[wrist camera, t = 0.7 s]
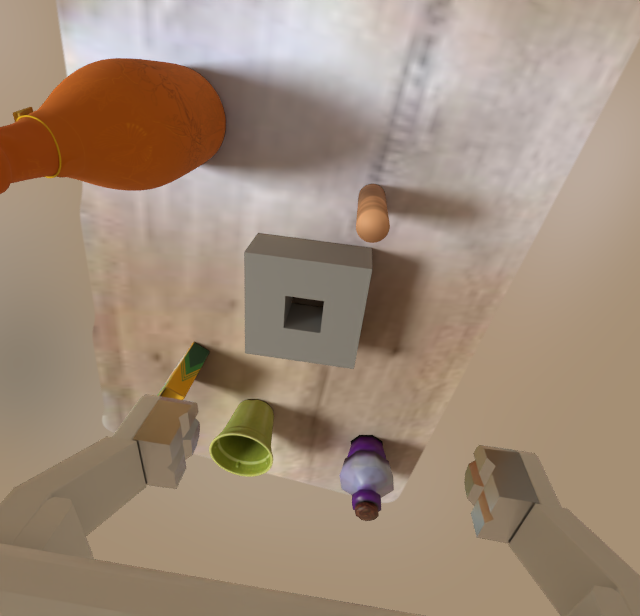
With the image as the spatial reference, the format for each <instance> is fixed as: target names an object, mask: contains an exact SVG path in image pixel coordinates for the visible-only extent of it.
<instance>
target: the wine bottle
mask: <svg viewBox="0 0 640 616" xmlns="http://www.w3.org/2000/svg"><path fill="white" fill-rule="evenodd" d="M13 116H14V120H15V123H13V124H10V125H7V126H3V127H0V194H1V193H3V192H5V191H6V190H7V189H8V188H9V185H10V183H14V182H19V181H23V180H28V179H33V178H38V177H47V178H54V177H56V176H57V177H69V178H73V179H77V180H81V181H84V182H87V183H91V184H94V185H98V186H102V187H106V188H112V189H119V190H147V189H153V188H157V187H160V186H163V185H165V184H168V183H170V182H172V181H174V180H176V179H178V178H180V177H182V176H183V175H185V174H187V173H189V172H190V171H192V170H194V169H196V168H197V167H199V166H200V165H202V164H203V163H205V162H206V161H208V160H209V159H210V158H211V157H213V156H214V155H215V154H216V152H217V151H218V150H219V148H220V146H221V144H222V142H223V139H224V135H225V129H226V120H225V113H224V109H223V106H222V103H221V100H220V98H219V96H218V94H217V93H216V91H215V90H214V88H213V87H212V86H211V84H210V83H209V82H208V81H207V80H206V79H205V78H204V77H203V76H201V75H200V74H199V73H197V72H196V71H194V70H192V69H190V68H187V67H185V66H181V65H177V64H172V63H166V62H159V61H150V60H141V59H120V58H116V59H106V60H100V61H97V62H94V63H91V64H88V65H86V66H84V67H82V68H80V69H78V70H77V71H75V72H74V73H72V74H71V75H69V76H68V77H67V78H65V79H64V80H63V81H62V82H61V83H60V84H59V85H58V86H57V87H56V88H55V89H54V90H53V91H52V93H51V94H50V95H49V97H48V98H47V99H46V101H45V102H44V103H43V104H42V106H41V107H40V108H39V109H38V110H37V111H34V112H33V109H32V107H29V108H26V109H23V110H20V111H16V112H14V113H13Z"/></svg>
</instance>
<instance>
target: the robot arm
mask: <svg viewBox="0 0 640 616" xmlns="http://www.w3.org/2000/svg"><path fill="white" fill-rule="evenodd" d="M197 413H198V405H197V403H195V402H190V401H185V400H179V399H174V398H168V397H161V396H155V395H149V394H145V395H144V396H142V397H141V398H140V399H139V401H138V402H137V403H136V405H135V406H134V407H133V409H132V410H131V412H130V413H129V414H128V416H127V417H126V419H125V420H124V421H123V423H122V424H121V425H120V427H119V428H118V430H117V431H116V432H115V434H114V435H113V436H112V437H108V436H107V437H105V438H103V439H101V440H100V441H98V442H96V443H94V444H92V445H91V446H89V447H87V448H85V449H83V450H81V451H80V452H78V453H76V454H74V455H72V456H71V457H69V458H67V459H65V460H63V461H62V462H60V463H58V464H56V465H55V466H53V467H51V468H49V469H47V470H45V471H44V472H42V473H40V474H38V475H36V476H35V477H33V478H31V479H29V480H27V481H26V482H24V483H22V484H20V485H18V486H17V487H15V488H14V489H13V490H12V491H11V492H10V493H9V494H8V495H7V496H6V498H5V499H4V500H3V501H2V502H1V503H0V616H424V615H417V614H412V613H407V612H400V611H395V610H389V609H383V608H377V607H372V606H366V605H360V604H354V603H348V602H342V601H336V600H331V599H325V598H319V597H312V596H307V595H301V594H295V593H289V592H284V591H278V590H272V589H266V588H259V587H254V586H248V585H243V584H237V583H231V582H225V581H219V580H213V579H207V578H201V577H196V576H189V575H184V574H178V573H172V572H166V571H160V570H154V569H149V568H143V567H137V566H131V565H125V564H119V563H113V562H108V561H101V560H96V559H93V555H92V551H91V549H90V546H89V544H88V541H87V539H86V536H87V535H88V534H90V533H91V532H92V531H93V530H95V529H96V528H97V527H98V526H99V525H101V524H102V523H103V522H104V521H105V520H106V519H108V518H109V517H110V516H112V515H113V514H114V513H115V512H116V511H118V510H119V509H120V508H121V507H122V506H124V505H125V504H126V503H127V502H128V501H130V500H131V499H132V498H133V497H135V496H136V495H137V494H138V493H139V492H141V491H142V490H143V489H144V488H146V485H151V486H158V487H166V488H173V489H177V486H178V484H179V482H180V480H181V478H182V476H183V474H184V471H185V469H186V462H185V460H186V459H187V458H189V457H190V456H191V455H193V453H194V450H195V448H196V446H197V442H198V438H199V432H200V424H199V421H198V420H197V419H196V418H195V417H196V415H197ZM474 457H475V461H473V462H471V463H470V464H469V465H468V467H467V470H466V473H465V490H466V495H467V498H468V499H469V501H470V502H471V503H472V504H473V505H474V508H473V510H472V512H471V516H472V520H473V524H474V528H475V532H476V536H477V538H482V539H488V540H493V541H498V542H504V543H509V547H510V548H511V549H512V551H513V552H514V553H515V555H516V556H517V557H518V559H519V560H520V561H521V563H522V564H523V566H524V567H525V568H526V569H527V571H528V572H529V574H530V575H531V576H532V577H533V579H534V580H535V582H536V583H537V584H538V586H539V587H540V588H541V590H542V591H543V593H544V594H545V595H546V596H547V598H548V599H549V601H550V602H551V603H552V605H553V606H554V607H555V609H556V610H557V611H558V613H559V614H560V615H561V616H640V575H639V574H638V573H637V572H635V571H634V570H633V569H632V568H631V567H630V566H629V565H628V564H627V563H626V562H625V561H624V560H622V559H621V558H620V557H619V556H618V555H617V554H616V553H615V552H614V551H613V550H612V549H611V548H609V547H608V546H607V545H606V544H605V543H604V542H603V541H602V540H601V539H600V538H599V537H597V535H595V534H594V533H593V532H592V531H591V530H590V529H589V528H588V527H587V526H586V525H585V524H584V523H583V522H581V521H580V520H579V519H578V518H577V517H576V516H575V515H574V514H573V513H572V512H570V510H569V509H566V508H562V507H561V505H560V502H559V500H558V498H557V496H556V494H555V492H554V490H553V487H552V486H551V483H550V481H549V479H548V477H547V475H546V473H545V470H544V468H543V466H542V464H541V462H540V460H539V458H538V456H537V455H536V454H535V453H530V452H524V451H516V450H511V449H503V448H497V447H490V446H483V445H479V446H478V447H477V448H476V450H475V452H474Z"/></svg>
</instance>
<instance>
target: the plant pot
mask: <svg viewBox="0 0 640 616" xmlns="http://www.w3.org/2000/svg"><path fill="white" fill-rule="evenodd" d="M273 420H274V414H273V411H272V408H271V407H270V406H269V405H268V404H266V403H265V402H263V401H260V400H245V401H243V402H241V403H240V404H239V406H238V407H237V409H236V410H235V412H234V414H233V415H232V417H231V419H230V420H229V422H228V424H227V425H226V427H225V428H224V430H223V431H222V432H221V433H220V434H219V436H217V437H216V438H215V439H214V440H213V441H212V442H211V444H210V447H209V451H210V455H211V457H212V459H213V461H214V462H215V463H216V464H217V465H219V466H220V467H221V468H223V469H224V470H226V471H228V472H230V473H233V474H236V475H240V476H258V475H261V474H264V473H266V472H267V471H268V470H269V469H270V468H271V466H272V463H273V455H272V452H271V439H272V429H273Z"/></svg>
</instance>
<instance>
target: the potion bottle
mask: <svg viewBox="0 0 640 616" xmlns="http://www.w3.org/2000/svg"><path fill="white" fill-rule="evenodd" d="M340 481H341V488H342V489H343V490H344V491H346V492H348V493H349V494H351V495H352V506H353V510H355V513H356V516H358V517H359V518H360V519H361V520H365V521H370V520H374V519H376V518H377V517H378V512H379V511H380V510H381V497H383V496H385V495H386V494H388V493H390V492H391V491H393V490H394V488H393V475H392V471H391V468H390V465H389V462H388V460H386V456H385V453H384V450H383V444H382V441H381V440H379V439H378V438H376V437H375V436H373V435H359V436H357V437H356V438H355V439H353V440H352V441H351V448H350V451H349V454H348V457H347V458H346V459H345V461H344V464H343V467H342V470H341V473H340Z"/></svg>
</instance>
